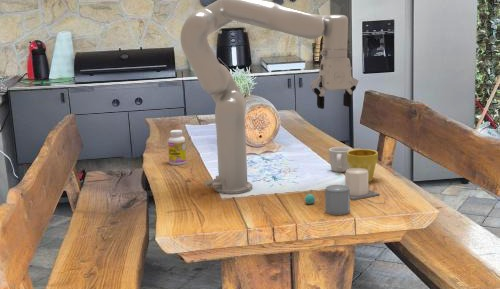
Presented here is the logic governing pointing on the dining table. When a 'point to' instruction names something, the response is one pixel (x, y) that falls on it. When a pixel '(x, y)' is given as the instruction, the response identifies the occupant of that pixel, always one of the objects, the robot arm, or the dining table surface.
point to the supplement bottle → (177, 148)
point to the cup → (339, 158)
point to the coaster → (369, 194)
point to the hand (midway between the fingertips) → (333, 107)
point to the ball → (309, 198)
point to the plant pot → (363, 160)
